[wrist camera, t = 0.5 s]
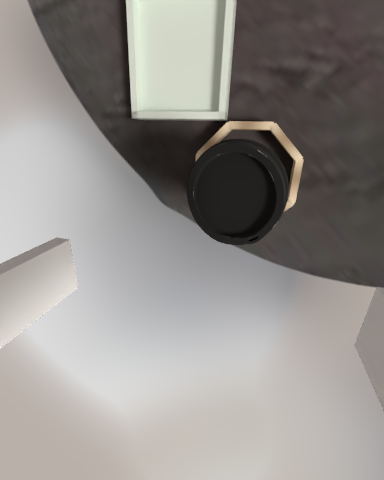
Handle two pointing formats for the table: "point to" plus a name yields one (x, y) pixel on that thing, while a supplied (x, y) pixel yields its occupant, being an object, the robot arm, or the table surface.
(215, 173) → the coffee cup
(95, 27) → the table surface
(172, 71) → the tray
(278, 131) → the holder ring
